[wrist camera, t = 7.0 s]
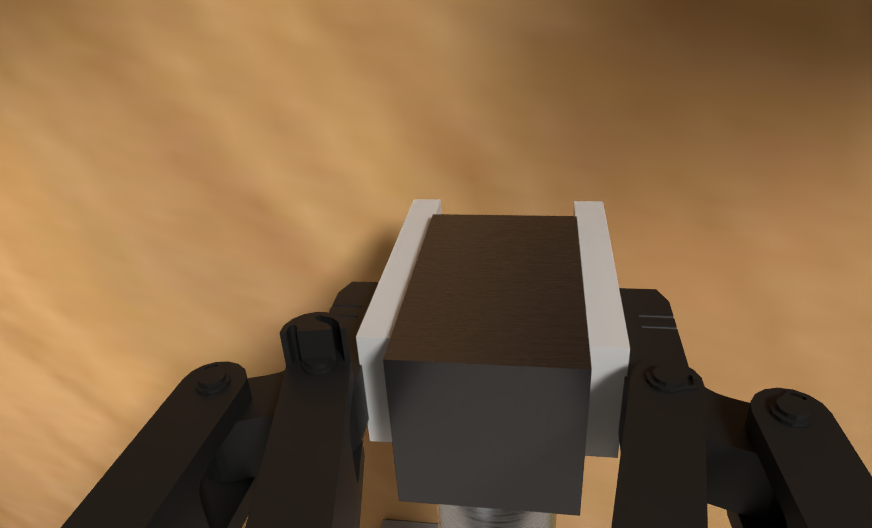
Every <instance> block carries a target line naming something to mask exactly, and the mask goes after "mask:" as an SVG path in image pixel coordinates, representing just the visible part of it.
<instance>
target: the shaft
mask: <svg viewBox="0 0 872 528" xmlns="http://www.w3.org/2000/svg"><path fill="white" fill-rule="evenodd" d="M383 365H384V373H385V382H386V391H387V400H388V409H389V417H390V426H391V435H392V444H393V453H394V461H395V470H396V479H397V488H398V497H399V501H405V502H417V503H430V504H437V512H438V525H439V528H556V514H566V515H578V516H580V508H581V496H582V483H583V471H584V459H585V447H586V435H587V422H588V410H589V398H590V386H591V374H592V366H591V356H590V346H589V336H588V325H587V315H586V305H585V295H584V285H583V274H582V264H581V254H580V244H579V234H578V224H577V216H518V215H449V214H433V215H432V218H431V220H430V223H429V226H428V229H427V232H426V235H425V238H424V241H423V244H422V247H421V250H420V253H419V256H418V258H417V261H416V264H415V267H414V270H413V273H412V276H411V279H410V282H409V285H408V288H407V291H406V294H405V296H404V299H403V302H402V305H401V308H400V311H399V314H398V317H397V320H396V323H395V326H394V329H393V332H392V334H391V337H390V340H389V343H388V346H387V349H386V352H385V355H384V358H383Z"/></svg>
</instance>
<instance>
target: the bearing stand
mask: <svg viewBox="0 0 872 528" xmlns="http://www.w3.org/2000/svg"><path fill="white" fill-rule="evenodd" d="M381 528H439V525H438V524H431V523H420V522H408V521H396V520H384V519H383V523H382V527H381Z"/></svg>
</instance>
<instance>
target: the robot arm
mask: <svg viewBox="0 0 872 528" xmlns="http://www.w3.org/2000/svg"><path fill="white" fill-rule="evenodd" d="M433 214H441V200H439V199H414V200H413V203H412V205H411V207H410V210H409V212H408V214H407V217H406V219H405V222H404V224H403V226H402V229H401V231H400V233H399V236H398V238H397V241H396V243H395V245H394V248H393V250H392V252H391V255H390V257H389V260H388V262H387V264H386V267H385V269H384V271H383V274H382V276H381V279H380V281H379V282H351V283H350V284H349V285H347V286H346V287H345V288H344V289H342V290H341V291H340V292H339V293H338V295H337V297H336V299H335V301H334V303H333V306H332V307H331V309H330V311H329V313H327V312H314V313H308V314H304V315H301V316H299V317H296V318H294V319H292V320H291V321H289V322H288V323H286V324H285V325H284V326H283V328H282V330H281V331H280V337H281V342H282V347H283V352H284V357H285V362H286V369H285V371H282V372H279V373H275V374H271V375H266V376H260V377H254V378H248V379H247V375H246V371H245V369H244V368H243V367H242V366H240V365H239V364H236V363H232V362H215V363H211V364H207V365H203V366H201V367H199V368H197V369H195V370H193V371H192V372H190V373H189V374H188V375H187V376H186V377H185V378H184V379H183V380H182V381H181V382H180V383H179V385H178V386H177V387H176V388H175V389H174V391H173V392H172V393H171V394H170V395H169V397H168V398H167V399H166V400H165V402H164V403H163V404H162V405H161V406H160V408H159V409H158V410H157V411H156V412H155V414H154V415H153V416H152V417H151V419H150V420H149V421H148V422H147V423H146V425H145V426H144V427H143V428H142V429H141V431H140V432H139V433H138V434H137V436H136V437H135V438H134V439H133V440H132V442H131V443H130V444H129V445H128V446H127V448H126V449H125V450H124V451H123V453H122V454H121V455H120V456H119V457H118V459H117V460H116V461H115V462H114V463H113V465H112V466H111V467H110V468H109V470H108V471H107V472H106V473H105V474H104V476H103V477H102V478H101V479H100V480H99V482H98V483H97V484H96V485H95V487H94V488H93V489H92V490H91V491H90V493H89V494H88V495H87V496H86V497H85V499H84V500H83V501H82V502H81V504H80V505H79V506H78V507H77V508H76V510H75V511H74V512H73V513H72V514H71V516H70V517H69V518H68V519H67V521H66V522H65V523H64V524H63V525H62V527H61V528H242V526H243V524H244V522H245V520H246V518H247V517H248V519H247V523H246V527H245V528H359V526H360V512H361V498H362V485H363V471H364V457H365V455H364V448H363V441H362V438H363V435H364V432H365V429H366V426H367V423H368V430H369V437H370V441H377V442H392V435H391V426H390V417H389V409H388V400H387V391H386V382H385V373H384V365H383V358H384V355H385V352H386V349H387V346H388V343H389V340H390V337H391V334H392V332H393V329H394V326H395V323H396V320H397V317H398V314H399V311H400V308H401V305H402V302H403V299H404V296H405V294H406V291H407V288H408V285H409V282H410V279H411V276H412V273H413V270H414V267H415V264H416V261H417V258H418V256H419V253H420V250H421V247H422V244H423V241H424V238H425V235H426V232H427V229H428V226H429V223H430V220H431V218H432V215H433ZM573 216H577V224H578V234H579V244H580V254H581V264H582V274H583V285H584V295H585V305H586V315H587V325H588V336H589V346H590V356H591V366H592V374H591V386H590V398H589V410H588V422H587V435H586V447H585V456H599V457H613V458H618V450H619V442H620V450H621V456H620V464H619V472H618V480H617V488H616V496H615V503H614V511H613V519H612V527H611V528H708V517H707V503H708V504H711V505H714V506H717V507H720V508H723V509H726V510H727V515H728V518H729V521H730V524H731V526H732V528H872V476H871V475H870V473H869V471H868V470H867V468H866V467H865V465H864V463H863V462H862V460H861V459H860V457H859V456H858V454H857V452H856V451H855V449H854V448H853V446H852V445H851V443H850V441H849V440H848V438H847V437H846V435H845V433H844V432H843V430H842V429H841V427H840V426H839V424H838V422H837V421H836V419H835V418H834V416H833V414H832V413H831V412H830V411H829V410H828V409H827V408H826V407H825V405H824V404H823V403H821V402H819V401H818V400H816V399H815V398H813V397H811V396H810V395H807V394H804V393H801V392H799V391H796V390H792V389H784V388H771V389H764V390H762V391H760V392H758V393H756V394H755V395H754V397H753V398H752V400H751V402H750V403H748V402H744V401H740V400H737V399H733V398H729V397H726V396H723V395H720V394H717V393H715V392H713V391H711V390H709V389H707V388H706V387H705V386H704V383H703V381H702V378H701V377H700V376H699V375H698V374H697V373H696V372H695V371H694V370H693V369H691V368H689V366H688V363H687V359H686V356H685V353H684V349H683V346H682V343H681V339H680V336H679V333H678V329H677V326H676V323H675V319H674V318H673V313H672V310H671V306H670V303H669V301H668V300H667V299H666V298H665V297H664V296H663V295H662V294H661V293H659V292H658V291H657V290H656V289H626V288H619V285H618V280H617V275H616V269H615V264H614V258H613V253H612V248H611V242H610V237H609V231H608V226H607V221H606V215H605V210H604V204H603V201H574V211H573Z"/></svg>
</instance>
